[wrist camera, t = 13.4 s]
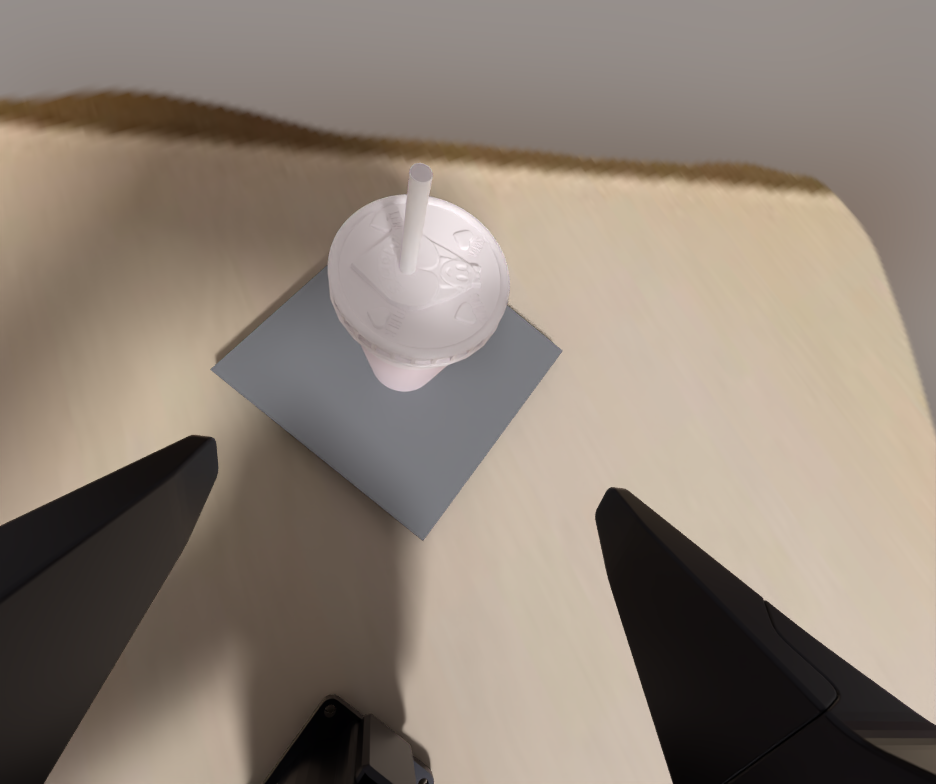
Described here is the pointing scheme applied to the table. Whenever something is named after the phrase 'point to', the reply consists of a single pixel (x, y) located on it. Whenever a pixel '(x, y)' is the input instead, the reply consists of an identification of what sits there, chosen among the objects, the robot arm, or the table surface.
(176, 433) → the table surface
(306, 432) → the placemat
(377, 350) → the smoothie
